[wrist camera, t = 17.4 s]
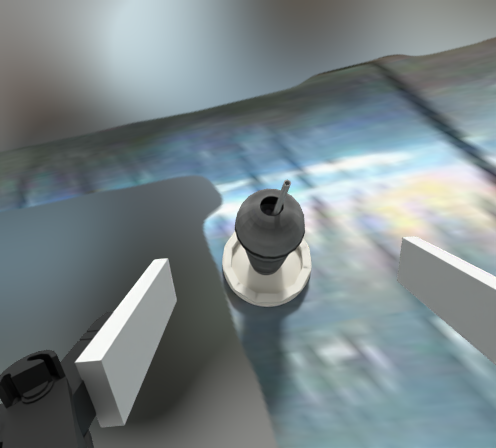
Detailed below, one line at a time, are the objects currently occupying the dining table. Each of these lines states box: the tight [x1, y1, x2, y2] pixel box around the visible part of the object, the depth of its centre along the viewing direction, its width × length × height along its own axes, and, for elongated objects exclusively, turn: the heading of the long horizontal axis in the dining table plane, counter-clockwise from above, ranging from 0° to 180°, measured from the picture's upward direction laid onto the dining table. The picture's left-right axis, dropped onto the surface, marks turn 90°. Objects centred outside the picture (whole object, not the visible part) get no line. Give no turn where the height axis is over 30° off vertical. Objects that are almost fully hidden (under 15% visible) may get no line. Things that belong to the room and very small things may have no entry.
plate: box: [223, 232, 311, 307], centre depth 35 cm, size 13×13×2 cm
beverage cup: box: [235, 180, 305, 275], centre depth 26 cm, size 7×7×20 cm
